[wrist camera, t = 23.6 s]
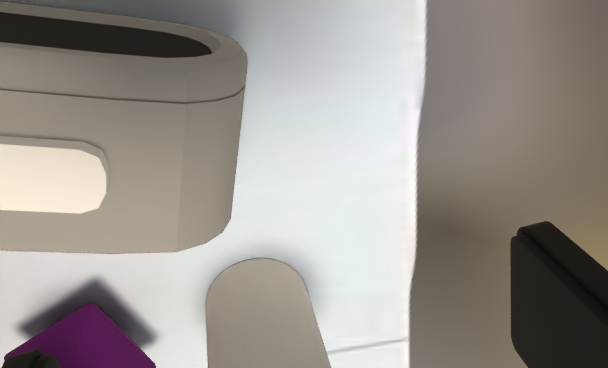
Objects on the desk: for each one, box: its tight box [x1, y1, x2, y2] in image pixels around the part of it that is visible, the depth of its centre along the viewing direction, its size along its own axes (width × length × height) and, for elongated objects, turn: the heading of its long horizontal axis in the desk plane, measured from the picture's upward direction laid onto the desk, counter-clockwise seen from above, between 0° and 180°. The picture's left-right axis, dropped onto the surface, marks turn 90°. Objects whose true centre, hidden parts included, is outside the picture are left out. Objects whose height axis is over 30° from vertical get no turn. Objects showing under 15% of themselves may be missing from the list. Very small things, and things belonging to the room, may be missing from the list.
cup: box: [205, 258, 331, 368], centre depth 40 cm, size 8×8×12 cm
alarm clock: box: [0, 1, 247, 254], centre depth 30 cm, size 21×10×13 cm, turn 81°
